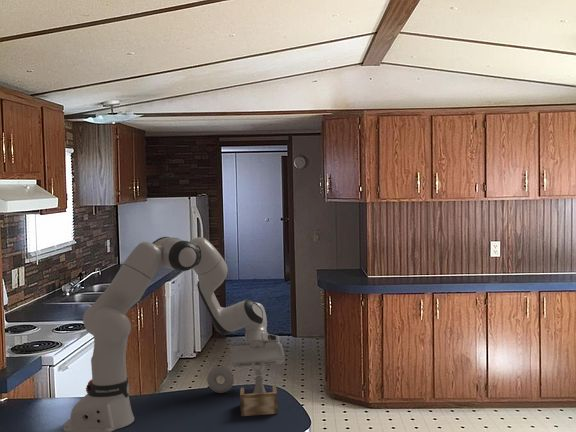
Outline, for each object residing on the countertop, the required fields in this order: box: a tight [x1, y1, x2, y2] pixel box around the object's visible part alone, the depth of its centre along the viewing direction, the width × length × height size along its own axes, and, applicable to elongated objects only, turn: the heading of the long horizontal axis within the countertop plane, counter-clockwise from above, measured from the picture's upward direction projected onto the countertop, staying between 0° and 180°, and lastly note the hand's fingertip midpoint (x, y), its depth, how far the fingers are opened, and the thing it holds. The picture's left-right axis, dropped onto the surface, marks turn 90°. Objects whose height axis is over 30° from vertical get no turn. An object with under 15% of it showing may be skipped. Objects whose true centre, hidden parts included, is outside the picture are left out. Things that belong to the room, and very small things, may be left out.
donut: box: [206, 365, 235, 394], centre depth 233 cm, size 10×3×10 cm, turn 85°
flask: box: [253, 375, 267, 393], centre depth 219 cm, size 7×7×10 cm
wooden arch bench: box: [239, 384, 279, 417], centre depth 215 cm, size 12×11×7 cm
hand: (258, 374), depth 232 cm, fingers closed
